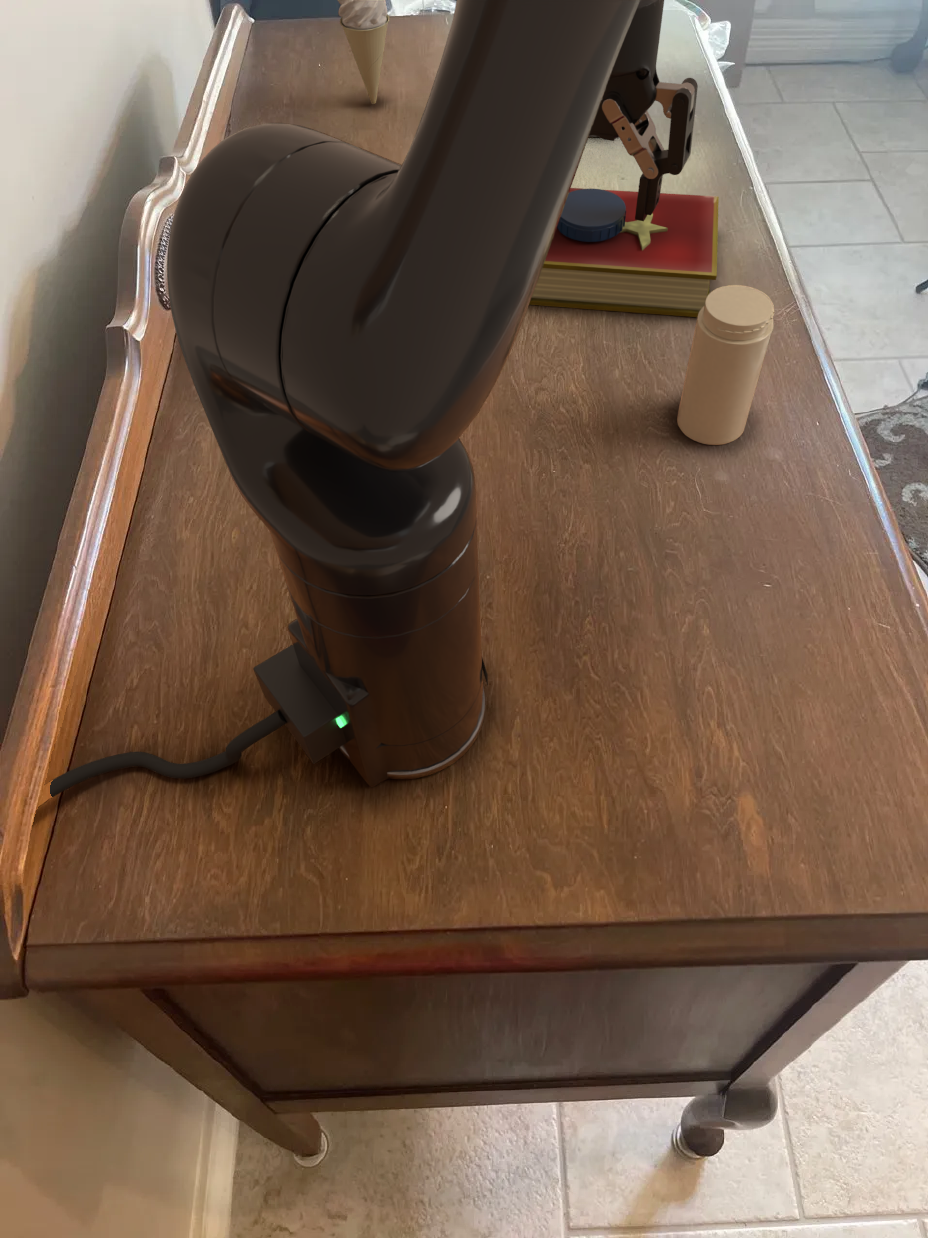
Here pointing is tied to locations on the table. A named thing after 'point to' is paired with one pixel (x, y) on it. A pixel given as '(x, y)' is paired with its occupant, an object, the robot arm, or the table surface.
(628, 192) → the hardcover book
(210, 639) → the table surface
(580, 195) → the jar lid
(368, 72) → the ice cream cone
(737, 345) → the jar
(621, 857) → the table surface
